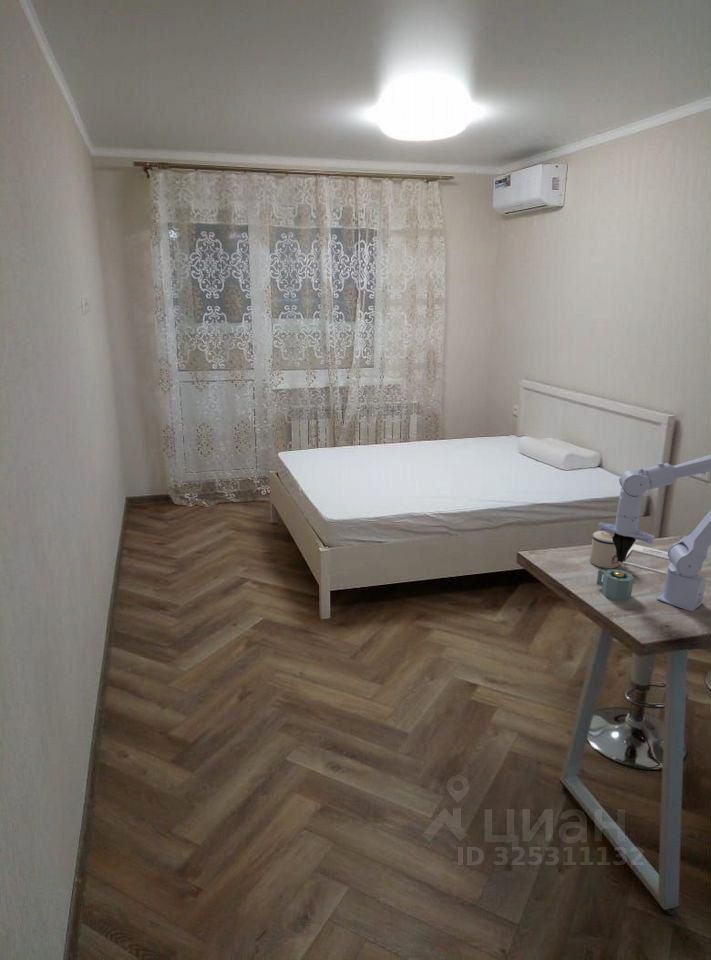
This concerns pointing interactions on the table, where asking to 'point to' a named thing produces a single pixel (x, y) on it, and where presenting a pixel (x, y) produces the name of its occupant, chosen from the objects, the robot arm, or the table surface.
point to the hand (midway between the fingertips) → (621, 560)
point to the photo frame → (649, 552)
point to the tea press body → (615, 584)
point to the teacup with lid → (603, 550)
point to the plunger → (618, 574)
